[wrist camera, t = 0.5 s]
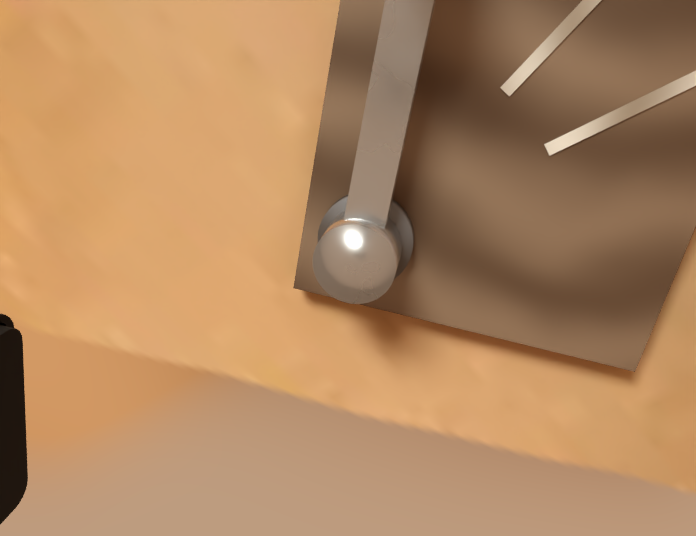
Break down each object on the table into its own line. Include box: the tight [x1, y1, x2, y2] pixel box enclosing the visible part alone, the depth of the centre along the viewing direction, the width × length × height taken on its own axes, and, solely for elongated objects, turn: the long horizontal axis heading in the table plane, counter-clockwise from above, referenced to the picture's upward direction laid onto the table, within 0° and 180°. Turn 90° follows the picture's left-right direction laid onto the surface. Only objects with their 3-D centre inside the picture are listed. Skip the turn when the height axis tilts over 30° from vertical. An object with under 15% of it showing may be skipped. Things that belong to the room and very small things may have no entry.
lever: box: [313, 0, 436, 304], centre depth 27 cm, size 20×4×7 cm, turn 170°
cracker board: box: [294, 0, 696, 372], centre depth 31 cm, size 24×19×2 cm
